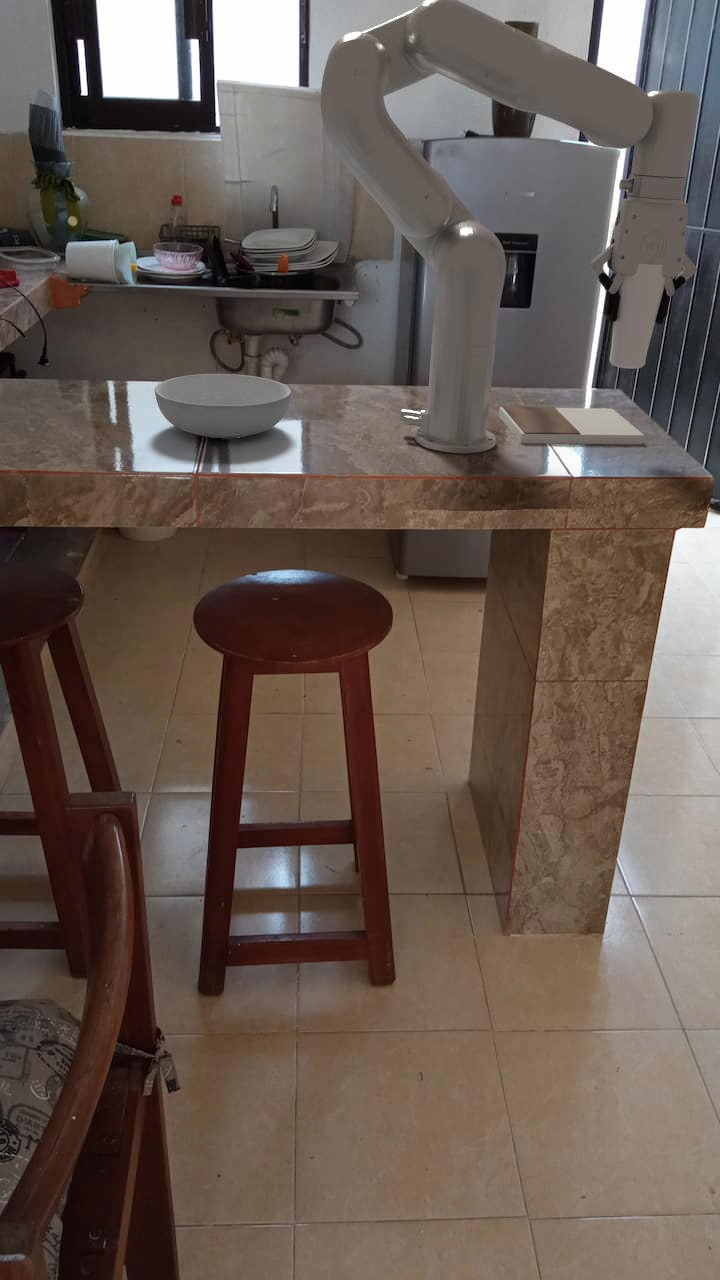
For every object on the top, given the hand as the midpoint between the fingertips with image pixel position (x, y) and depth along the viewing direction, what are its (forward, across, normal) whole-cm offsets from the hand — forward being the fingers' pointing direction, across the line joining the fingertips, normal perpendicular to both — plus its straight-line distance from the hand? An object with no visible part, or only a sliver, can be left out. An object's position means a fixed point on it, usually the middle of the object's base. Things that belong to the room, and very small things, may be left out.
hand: (634, 320), depth 149 cm
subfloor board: (+19, -5, +9) cm, 22 cm away
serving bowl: (+20, -61, +5) cm, 65 cm away
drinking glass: (+7, 0, 0) cm, 7 cm away
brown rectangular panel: (+20, -10, +9) cm, 24 cm away
